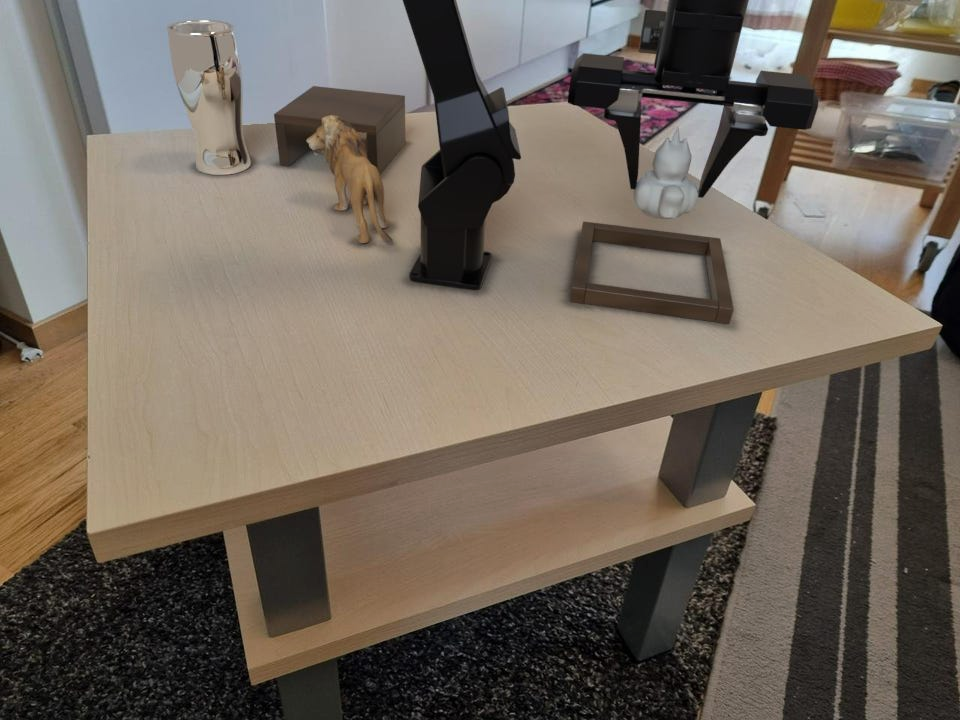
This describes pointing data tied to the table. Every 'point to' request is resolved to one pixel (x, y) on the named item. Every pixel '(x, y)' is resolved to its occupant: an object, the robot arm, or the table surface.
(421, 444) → the table surface
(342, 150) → the lion figurine
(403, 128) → the small brown stand
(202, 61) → the beer glass
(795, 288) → the table surface
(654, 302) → the brown rectangular frame
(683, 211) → the white figurine
